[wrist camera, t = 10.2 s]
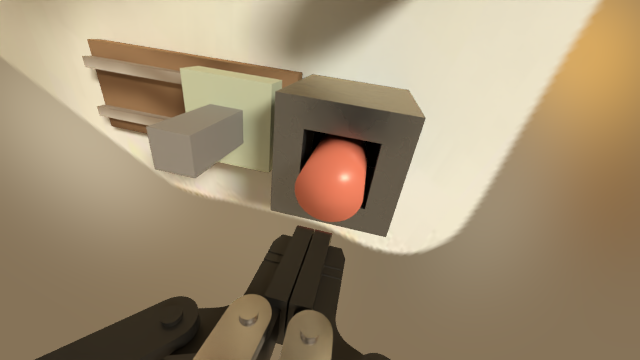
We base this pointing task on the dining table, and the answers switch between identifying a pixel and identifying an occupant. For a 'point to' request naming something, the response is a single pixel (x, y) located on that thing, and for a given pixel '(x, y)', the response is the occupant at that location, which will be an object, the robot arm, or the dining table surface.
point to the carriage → (217, 123)
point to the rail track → (154, 80)
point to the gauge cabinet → (348, 121)
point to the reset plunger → (333, 179)
